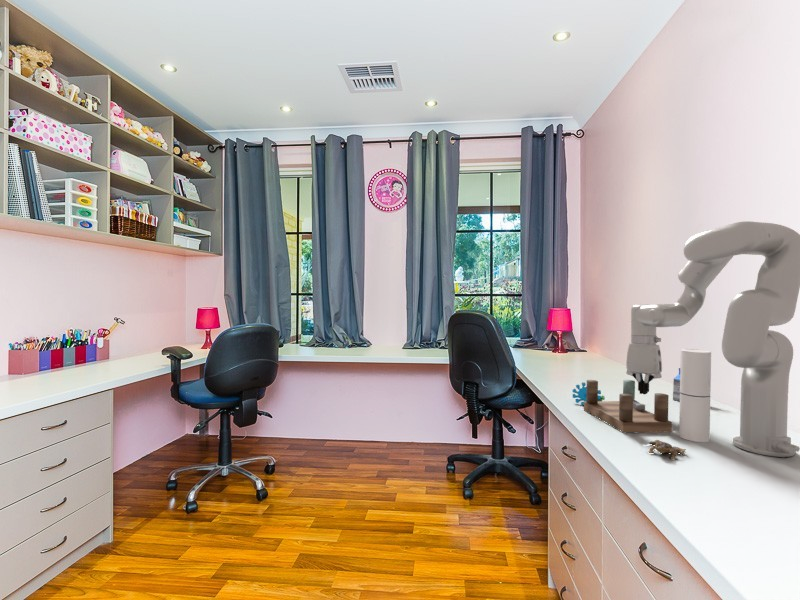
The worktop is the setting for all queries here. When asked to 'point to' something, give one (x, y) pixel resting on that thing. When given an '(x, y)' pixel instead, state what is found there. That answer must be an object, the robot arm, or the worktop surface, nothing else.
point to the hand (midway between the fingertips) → (643, 393)
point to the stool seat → (628, 412)
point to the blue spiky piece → (584, 394)
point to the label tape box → (676, 387)
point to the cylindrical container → (695, 395)
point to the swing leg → (630, 389)
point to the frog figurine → (665, 448)
